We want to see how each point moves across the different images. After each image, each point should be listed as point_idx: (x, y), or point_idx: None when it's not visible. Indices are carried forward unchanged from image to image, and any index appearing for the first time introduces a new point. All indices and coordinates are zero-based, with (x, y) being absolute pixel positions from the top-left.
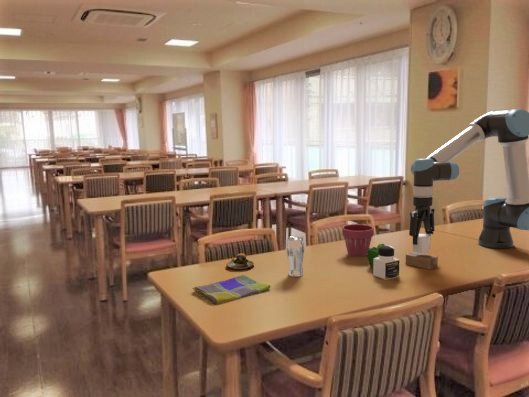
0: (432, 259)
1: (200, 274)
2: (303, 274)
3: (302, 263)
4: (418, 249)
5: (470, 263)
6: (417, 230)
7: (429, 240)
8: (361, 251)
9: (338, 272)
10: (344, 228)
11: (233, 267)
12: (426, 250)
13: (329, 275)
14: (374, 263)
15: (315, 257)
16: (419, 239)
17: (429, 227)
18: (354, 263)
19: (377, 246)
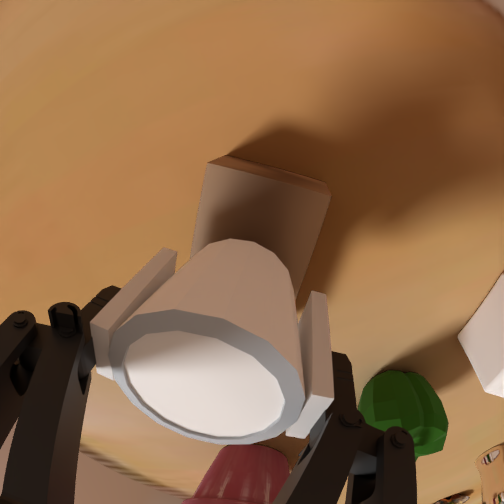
0: (279, 179)
1: None
2: (491, 448)
3: (498, 469)
4: (327, 310)
5: (82, 47)
6: (343, 482)
7: (208, 283)
8: (279, 466)
9: (471, 424)
10: None
11: (467, 499)
12: (262, 253)
13: (495, 422)
14: None
15: (345, 493)
16: (318, 373)
17: (58, 395)
18: None
19: None
